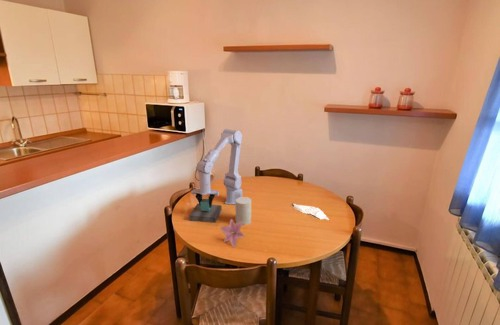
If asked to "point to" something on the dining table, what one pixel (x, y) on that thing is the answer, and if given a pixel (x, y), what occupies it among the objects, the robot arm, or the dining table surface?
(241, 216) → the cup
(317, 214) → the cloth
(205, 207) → the block
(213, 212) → the plinth
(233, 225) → the lily
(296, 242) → the dining table surface
